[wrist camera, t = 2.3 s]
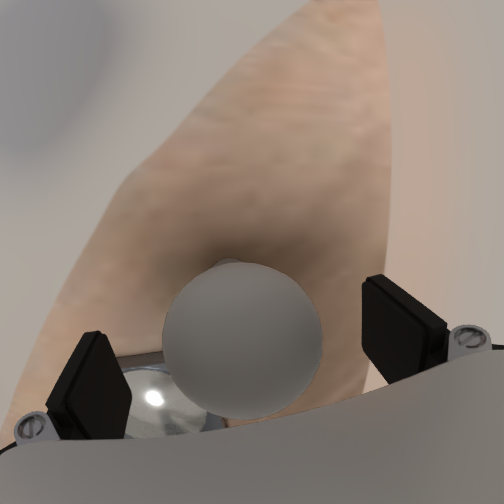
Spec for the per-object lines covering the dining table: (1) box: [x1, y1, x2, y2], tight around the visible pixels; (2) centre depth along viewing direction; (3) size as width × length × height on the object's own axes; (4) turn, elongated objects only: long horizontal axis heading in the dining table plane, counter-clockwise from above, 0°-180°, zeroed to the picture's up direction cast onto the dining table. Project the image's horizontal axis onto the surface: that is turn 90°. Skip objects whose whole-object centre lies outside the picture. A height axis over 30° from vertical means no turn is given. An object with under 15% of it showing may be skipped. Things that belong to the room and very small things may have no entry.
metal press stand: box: [116, 351, 227, 439], centre depth 17 cm, size 17×9×12 cm, turn 9°
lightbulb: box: [162, 258, 322, 420], centre depth 14 cm, size 6×6×11 cm
